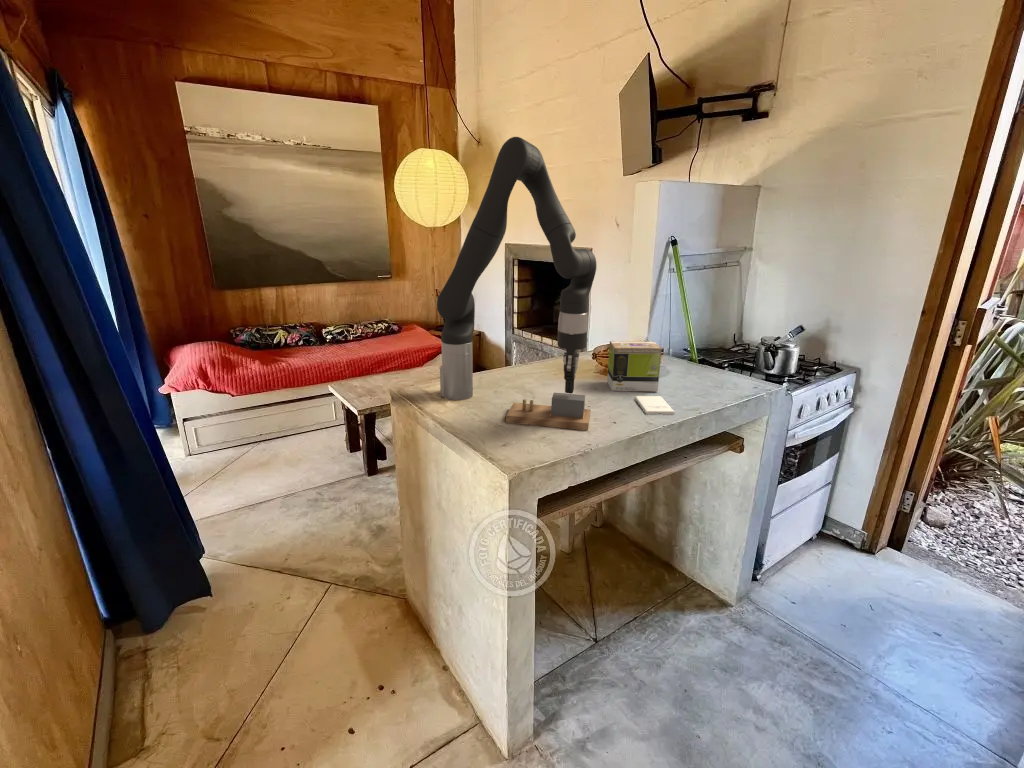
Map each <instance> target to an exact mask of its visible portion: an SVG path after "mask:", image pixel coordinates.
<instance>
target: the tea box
mask: <svg viewBox="0 0 1024 768" xmlns="http://www.w3.org/2000/svg"><path fill="white" fill-rule="evenodd" d="M608 348H609V349H608V361H607V362H608V364H607V376H606V377H607V378H606V379H607V383H608V386H609V388H610V387H611V388H610V390H611V391H612V392H653V393H654V392H658V390H659V381H660V380H659V378H660V371H661V369H660V368H661V361H662V352H663V351H662V348H661V347H660V346H659V345H658V344H657V343H656V342H655V341H653V340H651V341H649V340H648V341H647V340H646V341H644V340H643V341H642V340H641V341H639V340H636V341H635V340H610V341H609V347H608Z"/></svg>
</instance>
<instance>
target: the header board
mask: <svg viewBox="0 0 1024 768" xmlns="http://www.w3.org/2000/svg"><path fill="white" fill-rule="evenodd" d="M551 406H552V405H547V404H546V405H544V404H534V400H533V399H530V400H529V403H527V399H522V403H521V402H513V403H512V405H511V406H510V408H509V410H508V412H507V413H506V417H505V418H506V419H505V423H510V424H511V423H512V424H520V425H521V424H522V425H528V424H530V425H531V426H539V427H550V428H560V429H572V430H578V431H579V430H580V431H589V426H590V420H591V409H587V408H584V416H583V418H573V417H562V416H551ZM530 425H529V426H530Z"/></svg>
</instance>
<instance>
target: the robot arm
mask: <svg viewBox="0 0 1024 768" xmlns="http://www.w3.org/2000/svg"><path fill="white" fill-rule="evenodd" d="M517 181H519V182H521V183H522V184H523V185H524V186H525V189H527V191H528V192H529V193H530V196H531V198H532V199H533V202H534V205H535V206H534V207H535V213H536V216H537V220H538V223H539V224H538V225H539V227H540V228H541V230H542V232H543V234H544V237H546V240H547V241H548V243H549V248H550V251H551V257H552V261H553V265H554V268H555V270H556V272H557V273H558V274H559V275H560V276H561V277H562V278H564V279H566V280H570V283H569V285H568V286H567V287H566V288H563V289H562V290H561V293H560V299H559V300H560V302H559V303H560V304H559V305H560V306H559V316H558V324H557V347H558V348H559V349H562V350H565V352H564V353H563V355H562V362H563V370H562V371H563V379H564V381H565V385H564V393H566V394H574V388H575V380H576V373H577V371H578V363H579V359H580V353H579V352H577V350H578V351H580V350H584V349H586V348H587V344H588V343H587V342H588V340H587V339H588V327H589V324H588V323H589V318H588V317H589V316H588V315H589V314H588V311H589V310H588V308H589V295H590V294H591V293H590V292H591V289H592V288H593V287H592V286H593V283H594V280H595V276H596V272H597V260H596V259H597V258H596V257H595V254H594V252H593V251H592V250H590V249H588V248H573V245H572V243H573V242H574V241H575V239H576V237H577V234H576V231H575V228H574V225H573V223H572V222H571V220H570V218H569V216H568V215H567V212H566V211H565V209H564V208H563V206H562V204H561V201H560V200H559V198H558V196H557V193H556V191H555V189H554V186H553V183H552V180H551V178H550V175H549V171H548V168H547V166H546V162H545V160H544V157H543V154H542V152H541V150H540V149H539V148H538V147H537V146H535V145H534V144H533V143H530V142H529V141H528V140H525V139H524V138H522V137H521V136H512V137H510V138H508V139H507V140H506V141H505V142H504V143H503V144H502V145H501V148H500V150H499V151H498V154H497V156H496V159H495V163H494V166H493V168H492V173H491V175H490V178H489V182H488V184H487V187H486V190H485V192H484V195H483V197H482V200H481V201H480V205H479V207H478V209H477V212H476V214H475V216H474V218H473V220H472V222H471V225H470V228H469V229H468V231H467V234H466V236H465V239H464V242H463V244H462V247H461V249H460V251H459V254H458V257H457V260H456V262H455V264H454V268H453V269H452V271H451V274H450V275H449V277H448V279H447V280H446V282H445V284H444V286H443V288H442V289H441V290H440V293H439V295H438V297H437V300H436V308H437V312H438V314H439V316H440V317H441V318H442V319H443V320H444V326H443V329H442V331H441V333H440V335H441V337H440V339H441V341H440V342H441V343H440V344H441V345H440V346H441V366H440V367H439V383H440V385H439V387H440V397H441V396H442V397H441V398H445V399H447V400H454V401H461V400H467V399H470V398H471V397H473V393H474V384H473V383H474V382H473V381H474V379H473V377H474V376H473V375H474V373H473V370H474V369H473V368H474V366H473V364H474V363H473V362H474V361H473V358H474V357H473V335H474V331H475V313H476V312H475V309H476V306H475V298H474V295H473V293H472V292H473V290H474V287H475V286H476V284H477V281H478V280H479V278H480V277H481V275H482V274H483V273H484V271H485V270H486V268H487V267H488V266H489V265H490V263H491V262H492V260H493V258H494V257H495V255H496V253H497V252H498V251H499V248H500V245H501V243H502V241H503V240H504V238H505V235H506V232H507V226H508V207H509V205H508V204H509V200H510V196H511V193H512V191H513V189H514V187H515V184H516V182H517Z"/></svg>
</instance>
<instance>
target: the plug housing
mask: <svg viewBox="0 0 1024 768" xmlns="http://www.w3.org/2000/svg"><path fill="white" fill-rule="evenodd" d="M585 404H586V394H577V393H576V394H575V393H565V392H553V394H552V397H551V405H550V406H551V416H562V417H573V418H583V416H584V409H585V407H586V405H585Z"/></svg>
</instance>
